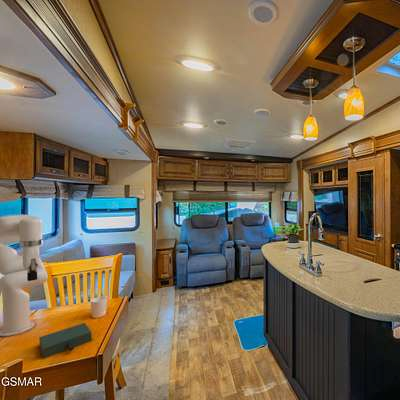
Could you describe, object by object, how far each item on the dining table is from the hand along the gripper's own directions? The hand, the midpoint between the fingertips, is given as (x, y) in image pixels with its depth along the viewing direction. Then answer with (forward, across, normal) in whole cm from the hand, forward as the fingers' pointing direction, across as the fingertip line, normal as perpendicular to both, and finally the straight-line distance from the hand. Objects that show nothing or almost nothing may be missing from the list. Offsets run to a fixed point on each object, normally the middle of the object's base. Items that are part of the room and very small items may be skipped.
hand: (32, 279), depth 121 cm
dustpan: (+30, +7, +10) cm, 32 cm away
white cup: (+32, -8, +28) cm, 43 cm away
